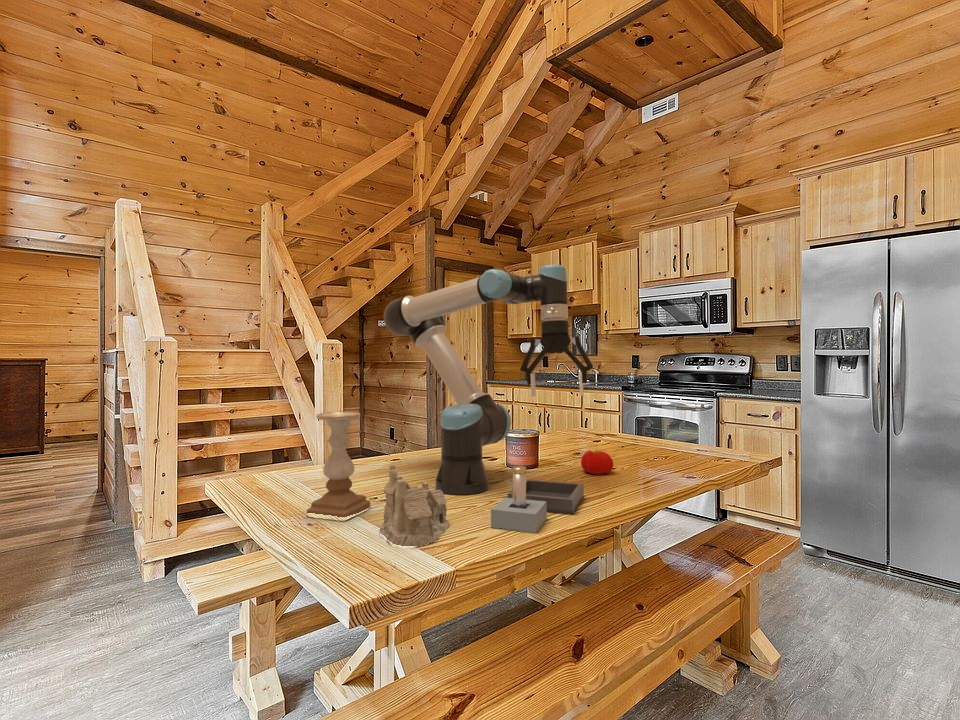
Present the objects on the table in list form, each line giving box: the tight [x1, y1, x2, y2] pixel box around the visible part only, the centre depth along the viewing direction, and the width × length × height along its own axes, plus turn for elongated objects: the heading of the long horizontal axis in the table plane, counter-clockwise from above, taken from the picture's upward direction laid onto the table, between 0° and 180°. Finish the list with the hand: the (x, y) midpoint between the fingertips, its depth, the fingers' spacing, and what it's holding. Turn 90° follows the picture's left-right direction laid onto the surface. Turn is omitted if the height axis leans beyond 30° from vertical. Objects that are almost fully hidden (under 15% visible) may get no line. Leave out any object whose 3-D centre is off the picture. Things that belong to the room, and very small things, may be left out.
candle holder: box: [306, 411, 371, 517], centre depth 122 cm, size 11×11×24 cm
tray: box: [506, 478, 585, 516], centre depth 129 cm, size 16×16×4 cm
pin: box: [511, 465, 527, 509], centre depth 113 cm, size 3×3×12 cm
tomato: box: [580, 450, 615, 476], centre depth 163 cm, size 10×11×6 cm
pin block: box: [490, 497, 548, 534], centre depth 113 cm, size 10×10×4 cm
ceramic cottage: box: [379, 463, 451, 546], centre depth 108 cm, size 16×16×15 cm
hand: (557, 395), depth 143 cm, fingers open, 13 cm apart
